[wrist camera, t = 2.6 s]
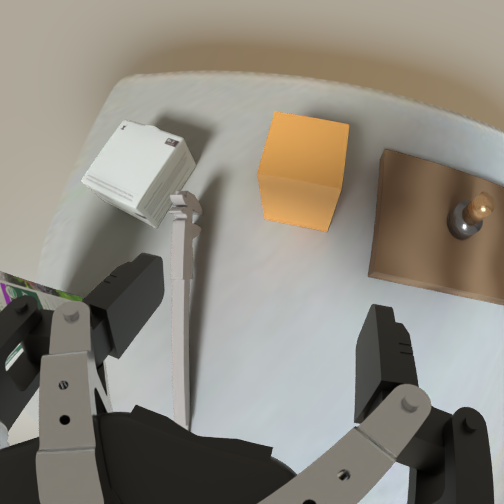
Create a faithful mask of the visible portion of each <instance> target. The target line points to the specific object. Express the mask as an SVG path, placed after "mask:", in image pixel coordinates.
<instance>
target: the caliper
mask: <svg viewBox="0 0 504 504" xmlns="http://www.w3.org/2000/svg"><path fill="white" fill-rule="evenodd" d="M170 198H171V201H172V203H173V204H174V205H175V206H176V207H172V208H171V209H170V210H169V213H171V214H174V215H175V220H173V231H172V253H171V279H173V281H172V380H173V406H174V422H176V423H177V424H179V425H180V426H182V427H183V428H185V429H187V430H188V431H189V422H190V386H189V293H190V279H192V278H193V248H192V240H193V238H195V237H196V236H198V235H199V234H200V233H201V228H200V227H199V226H198V225H196V224H192V215H203V211H202V207H201V205H200V204H199V202H198V200H197V199H196V197H195V195H193V194H192V193H190V192H188V191H176V194H175V195H170Z"/></svg>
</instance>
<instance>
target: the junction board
mask: <svg viewBox="0 0 504 504" xmlns="http://www.w3.org/2000/svg"><path fill="white" fill-rule="evenodd" d="M481 192H487V193H489V194H490V195H491V196H492V198H493V199H494V202H495V209H494V211H493V212H492V213H490V214H489V215H488V216H487V217H485V218H484V219H483V225H482V228H481V229H480V231H478V232H477V233H475V234H474V235H473V236H471V237H470V238H468V239H467V240H458V239H456V238H455V237H453V236H452V234H451V233H450V232H449V230H448V227H447V222H446V220H447V215H448V214H449V212H450V211H451V210H453V209H454V208H455V207H456V206H457V205H458V204H459V203H460V202H461V201H470V202H471V201H472V200H473V199H474V198H475V197H477V196H478V195H479V194H480V193H481ZM368 277H371V278H376V279H381V280H386V281H390V282H395V283H400V284H405V285H409V286H414V287H419V288H424V289H428V290H433V291H438V292H443V293H447V294H452V295H457V296H462V297H467V298H471V299H476V300H481V301H486V302H490V303H495V304H500V305H504V187H502V186H500V185H497V184H494V183H492V182H489V181H487V180H484V179H481V178H478V177H476V176H473V175H470V174H467V173H464V172H461V171H459V170H456V169H453V168H450V167H446V166H443V165H440V164H437V163H434V162H430V161H427V160H424V159H420V158H417V157H413V156H410V155H406V154H403V153H399V152H395V151H391V150H387V149H385V150H384V152H383V154H382V156H381V159H380V168H379V183H378V195H377V207H376V217H375V226H374V235H373V243H372V251H371V258H370V265H369V272H368Z"/></svg>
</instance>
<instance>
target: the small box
mask: <svg viewBox="0 0 504 504" xmlns="http://www.w3.org/2000/svg"><path fill="white" fill-rule="evenodd" d="M195 167H196V163H195V161H194V159H193V157H192V155H191V153H190V151H189V149H188V146H187V144H186V142H185V140H184V138H183V137H180V136H177V135H174V134H171V133H168V132H165V131H162V130H160V129H158V128H157V127H155V126H152V125H143V124H140V123H137V122H133V121H130V120H127V119H125V120H124V121H123V122H122V123H121V125H120V126H119V127H118V128H117V130H116V131H115V132H114V133H113V135H112V136H111V138H110V139H109V140H108V142H107V143H106V145H105V146H104V147H103V149H102V150H101V152H100V153H99V155H98V156H97V157H96V159H95V160H94V162H93V163H92V165H91V166H90V168H89V169H88V171H87V172H86V174H85V175H84V177H83V178H82V180H81V182H82V183H84V184H85V185H86V186H87V187H88V188H89V189H91V190H92V191H93V192H94V193H95V194H96V195H97V196H98V197H100V198H101V199H102V200H103V201H105V202H107V203H109V204H111V205H113V206H115V207H117V208H118V209H120V210H122V211H124V212H126V213H128V214H130V215H132V216H134V217H136V218H138V219H139V220H141V221H143V222H145V223H147V224H148V225H150V226H152V227H154V228H156V229H157V228H158V226H159V224H160V222H161V221H162V219H163V217H164V216H165V214H166V212H167V211H168V209H169V207H170V206H171V204H172V201H171V198H170V195H175V194H176V191H180V190H181V188H182V187H183V185H184V184H185V182H186V180H187V179H188V177H189V176H190V174H191V173H192V171H193V170H194V168H195Z"/></svg>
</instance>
